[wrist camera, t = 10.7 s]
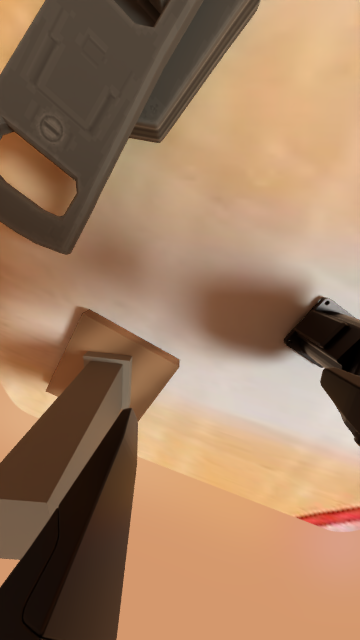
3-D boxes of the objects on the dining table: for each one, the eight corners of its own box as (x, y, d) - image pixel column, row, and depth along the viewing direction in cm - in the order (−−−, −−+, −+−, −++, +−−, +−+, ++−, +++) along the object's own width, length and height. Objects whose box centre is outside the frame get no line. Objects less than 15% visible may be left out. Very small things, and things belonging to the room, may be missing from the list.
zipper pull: (-77, 171, 10) (197, -1065, 3) (21, 204, 16) (186, -213, 10) (65, 269, 12) (427, -418, 5) (105, 265, 18) (293, -51, 11)
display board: (179, 359, 22) (179, 366, 20) (134, 420, 25) (131, 429, 24) (89, 309, 20) (82, 313, 18) (53, 382, 23) (45, 391, 22)
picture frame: (132, 356, 20) (61, 497, 8) (130, 403, 22) (73, 567, 11) (87, 351, 20) (-50, 488, 8) (90, 399, 22) (-13, 561, 10)
